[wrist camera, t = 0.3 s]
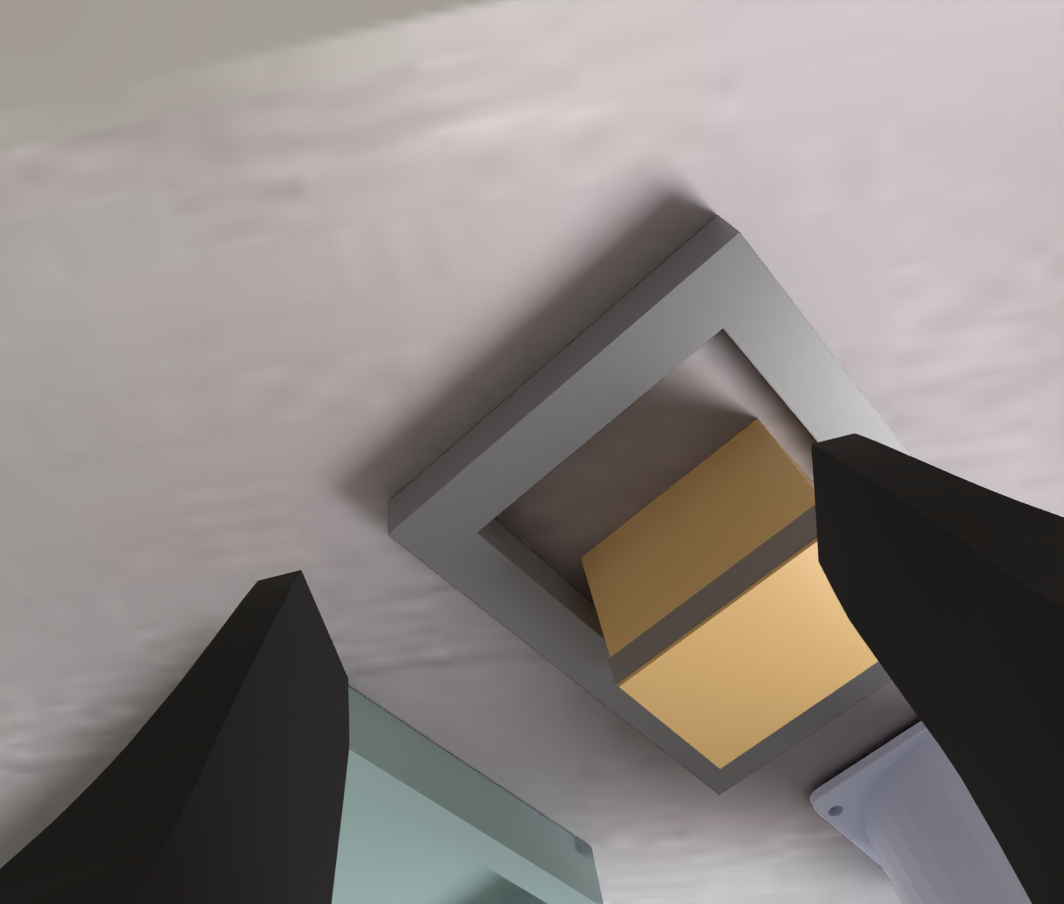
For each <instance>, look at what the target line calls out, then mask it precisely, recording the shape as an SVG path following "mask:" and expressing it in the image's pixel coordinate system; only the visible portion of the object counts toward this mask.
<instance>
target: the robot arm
mask: <svg viewBox="0 0 1064 904" xmlns="http://www.w3.org/2000/svg"><path fill="white" fill-rule="evenodd" d="M812 460H813V477H814V494H815V511H816V528H817V545H818V562H819V564H820V566H821V568H822V570H823V571H824V573H825V575H826V577H827V579H828V581H829V583H830V585H831V587H832V589H833V591H834V593H835V595H836V597H837V599H838V600H839V602H840V604H841V606H842V608H843V609H844V611H845V613H846V615H847V617H848V619H849V620H850V622H851V623H852V625H853V626H854V628H855V629H856V631H857V632H858V633H859V635H860V636H861V638H862V639H863V640H864V642H865V643H866V645H867V646H868V647H869V649H870V650H871V652H872V653H873V654H874V656H875V657H876V659H877V660H878V662H879V663H880V664H881V666H882V667H883V668H884V670H885V671H886V673H887V674H888V675H889V677H890V678H891V680H892V681H893V682H894V684H895V685H896V686H897V688H898V689H899V691H900V692H901V693H902V695H903V696H904V697H905V699H906V700H907V702H908V703H909V704H910V706H911V707H912V708H913V710H914V711H915V713H916V714H917V715H918V717H919V718H920V720H921V721H920V722H918V723H917V724H915V725H914V726H912V727H911V728H909V729H908V730H906V731H905V732H903V733H902V734H900V735H898V736H897V737H895V738H894V739H892V740H891V741H889V742H888V743H886V744H885V745H883V746H882V747H880V748H878V749H877V750H875V751H874V752H872V753H871V754H869V755H868V756H866V757H865V758H863V759H862V760H860V761H859V762H857V763H855V764H854V765H852V766H851V767H849V768H848V769H846V770H845V771H843V772H842V773H840V774H839V775H837V776H835V777H834V778H832V779H831V780H829V781H828V782H826V783H825V784H823V785H822V786H820V787H819V788H817V789H816V790H815V791H813V792H812V794H811V796H810V802H811V804H812V806H813V808H814V810H815V811H816V812H817V813H818V814H819V815H820V816H822V817H823V818H824V819H825V820H826V821H828V822H829V823H830V824H831V825H832V826H833V827H835V828H836V829H837V830H838V831H839V832H841V833H842V834H843V835H844V836H845V837H847V838H848V839H849V840H850V841H851V842H852V843H854V844H855V845H856V846H857V847H858V848H860V849H861V850H862V851H863V852H864V853H866V854H867V855H868V856H869V857H870V858H871V859H873V860H874V861H875V862H876V863H877V864H879V865H880V866H881V867H882V868H883V869H884V871H885V873H886V874H887V876H888V878H889V880H890V882H891V884H892V886H893V888H894V889H895V891H896V893H897V895H898V897H899V899H900V901H901V903H902V904H1064V517H1061V516H1058V515H1055V514H1053V513H1050V512H1047V511H1044V510H1041V509H1039V508H1036V507H1033V506H1030V505H1028V504H1025V503H1022V502H1019V501H1017V500H1014V499H1012V498H1009V497H1006V496H1004V495H1001V494H999V493H996V492H994V491H991V490H989V489H986V488H984V487H981V486H979V485H976V484H974V483H972V482H969V481H967V480H965V479H962V478H960V477H957V476H955V475H953V474H950V473H948V472H946V471H943V470H941V469H939V468H936V467H934V466H932V465H930V464H927V463H925V462H923V461H921V460H918V459H916V458H914V457H911V456H909V455H907V454H905V453H902V452H900V451H898V450H895V449H893V448H891V447H889V446H886V445H884V444H882V443H879V442H877V441H874V440H872V439H869V438H867V437H864V436H861V435H859V434H856V433H853V434H849V435H845V436H841V437H837V438H833V439H829V440H825V441H821V442H817V443H813V444H812ZM349 745H350V744H349V693H348V677H347V675H346V673H345V670H344V668H343V666H342V663H341V661H340V659H339V656H338V654H337V652H336V649H335V647H334V645H333V642H332V640H331V638H330V635H329V633H328V631H327V629H326V626H325V624H324V622H323V619H322V617H321V615H320V612H319V610H318V608H317V605H316V603H315V601H314V598H313V596H312V594H311V592H310V589H309V587H308V585H307V582H306V580H305V578H304V575H303V573H302V571H301V570H300V571H296V572H292V573H287V574H283V575H279V576H275V577H271V578H267V579H263V580H259V581H258V582H257V583H256V584H255V585H254V586H253V588H252V589H251V590H250V591H249V592H248V594H247V595H246V596H245V598H244V599H243V600H242V601H241V603H240V604H239V605H238V607H237V608H236V609H235V611H234V612H233V613H232V615H231V616H230V617H229V619H228V620H227V621H226V623H225V624H224V625H223V627H222V628H221V629H220V631H219V632H218V633H217V635H216V636H215V637H214V639H213V640H212V641H211V643H210V644H209V645H208V647H207V648H206V649H205V651H204V652H203V653H202V654H201V656H200V657H199V658H198V660H197V661H196V662H195V664H194V665H193V666H192V668H191V669H190V670H189V671H188V673H187V674H186V675H185V677H184V678H183V679H182V681H181V682H180V683H179V684H178V686H177V687H176V688H175V689H174V691H173V692H172V693H171V694H170V695H169V696H168V698H167V699H166V700H165V701H164V702H163V704H162V705H161V706H160V707H159V708H158V710H157V711H156V712H155V713H154V714H153V715H152V717H151V718H150V719H149V720H148V721H147V723H146V724H145V725H144V726H143V727H142V729H141V730H140V731H139V732H138V733H137V734H136V736H135V737H134V738H133V739H132V740H131V742H130V743H129V744H128V745H127V746H126V747H125V748H124V750H123V751H122V752H121V753H120V754H119V755H118V756H117V757H116V758H115V760H114V761H113V762H112V763H111V764H110V765H109V766H108V767H107V768H106V769H105V770H104V771H103V772H102V773H101V774H100V776H99V777H98V778H97V779H96V780H95V781H94V782H93V783H92V784H91V785H90V786H89V787H88V788H87V789H86V790H85V791H84V792H83V793H82V794H81V795H80V796H79V797H78V798H77V799H76V800H75V801H74V802H73V803H72V804H71V805H70V806H69V807H68V808H67V809H66V810H65V811H64V812H63V813H62V814H61V815H60V816H59V817H58V818H56V819H55V820H54V821H53V822H52V823H51V824H50V825H49V826H48V827H47V828H46V829H45V830H43V831H42V832H41V833H40V834H39V835H38V836H37V837H36V838H35V839H33V840H32V841H31V842H30V843H29V844H28V845H27V846H26V847H24V848H23V849H22V850H21V851H20V852H19V853H18V854H17V855H15V856H14V857H13V858H12V859H11V860H10V861H9V862H8V863H6V864H5V865H4V866H3V867H2V868H1V869H0V904H332V895H333V887H334V878H335V870H336V861H337V852H338V844H339V835H340V827H341V818H342V810H343V801H344V792H345V783H346V774H347V765H348V755H349Z"/></svg>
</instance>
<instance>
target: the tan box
mask: <svg viewBox="0 0 1064 904" xmlns="http://www.w3.org/2000/svg"><path fill="white" fill-rule="evenodd" d="M581 561H582V564H583V567H584V571H585V574H586V577H587V581H588V584H589V587H590V591H591V594H592V598H593V601H594V604H595V608H596V611H597V614H598V618H599V621H600V625H601V628H602V631H603V635H604V638H605V641H606V645H607V648H608V652H609V655H610V658H609V659H608V662H609V665H610V669H611V672H612V675H613V679H614V682H615V684H616V685H617V686H618V687H619V688H621V689H622V690H623V691H624V692H626V693H627V694H628V695H629V696H631V697H632V698H633V699H634V700H636V701H637V702H638V703H639V704H640V705H642V706H643V707H644V708H645V709H647V710H648V711H649V712H650V713H652V714H653V715H654V716H655V717H656V718H658V719H659V720H660V721H661V722H663V723H664V724H665V725H666V726H668V727H669V728H670V729H671V730H673V731H674V732H675V733H676V734H677V735H679V736H680V737H681V738H682V739H684V740H685V741H686V742H687V743H689V744H690V745H691V746H692V747H693V748H695V749H696V750H697V751H698V752H700V753H701V754H702V755H703V756H705V757H706V758H707V759H708V760H709V761H711V762H712V763H713V764H714V765H716V766H717V767H718V768H720V769H721V768H722V767H724V766H725V765H727V764H728V763H730V762H731V761H733V760H734V759H736V758H737V757H738V756H740V755H741V754H743V753H744V752H746V751H747V750H749V749H750V748H752V747H753V746H755V745H756V744H758V743H759V742H761V741H762V740H763V739H765V738H766V737H768V736H769V735H771V734H772V733H774V732H775V731H777V730H778V729H780V728H781V727H783V726H784V725H786V724H787V723H788V722H790V721H791V720H793V719H794V718H796V717H797V716H799V715H800V714H802V713H803V712H805V711H806V710H808V709H809V708H810V707H812V706H813V705H815V704H816V703H818V702H819V701H821V700H822V699H824V698H825V697H827V696H828V695H830V694H831V693H833V692H834V691H835V690H837V689H838V688H840V687H841V686H843V685H844V684H846V683H847V682H849V681H850V680H852V679H853V678H855V677H856V676H858V675H859V674H860V673H862V672H863V671H865V670H866V669H868V668H869V667H871V666H872V665H874V664H875V663H877V662H878V660H877V659H876V657H875V656H874V654H873V653H872V652H871V650H870V649H869V647H868V646H867V645H866V643H865V642H864V640H863V639H862V638H861V636H860V635H859V633H858V632H857V631H856V629H855V628H854V626H853V625H852V623H851V622H850V620H849V619H848V617H847V615H846V613H845V611H844V609H843V608H842V606H841V604H840V602H839V600H838V599H837V597H836V595H835V593H834V591H833V589H832V587H831V585H830V583H829V581H828V579H827V577H826V575H825V573H824V571H823V570H822V568H821V566H820V564H819V562H818V545H817V528H816V511H815V494H814V483H813V482H812V481H811V479H810V478H809V477H808V476H807V475H806V474H805V472H804V471H803V470H802V469H801V468H800V467H799V465H798V464H797V463H796V462H795V461H794V460H793V459H792V457H791V456H790V455H789V454H788V453H787V452H786V450H785V449H784V448H783V447H782V446H781V445H780V443H779V442H778V441H777V440H776V439H775V438H774V437H773V435H772V434H771V433H770V432H769V431H768V430H767V428H766V427H765V426H764V425H763V424H762V423H761V421H760V420H759V419H758V418H757V419H756V420H755V421H753V422H752V423H751V424H750V425H748V426H747V427H746V428H745V429H743V430H742V431H741V432H740V433H738V434H737V435H736V436H735V437H733V438H732V439H731V440H729V441H728V442H727V443H726V444H724V445H723V446H722V447H721V448H719V449H718V450H717V451H716V452H714V453H713V454H712V455H710V456H709V457H708V458H707V459H705V460H704V461H703V462H702V463H700V464H699V465H698V466H697V467H695V468H694V469H693V470H692V471H690V472H689V473H688V474H686V475H685V476H684V477H683V478H681V479H680V480H679V481H678V482H676V483H675V484H674V485H673V486H671V487H670V488H669V489H667V490H666V491H665V492H664V493H662V494H661V495H660V496H659V497H657V498H656V499H655V500H654V501H652V502H651V503H650V504H648V505H647V506H646V507H645V508H643V509H642V510H641V511H640V512H638V513H637V514H636V515H635V516H633V517H632V518H631V519H630V520H628V521H627V522H626V523H624V524H623V525H622V526H621V527H619V528H618V529H617V530H616V531H614V532H613V533H612V534H611V535H609V536H608V537H607V538H605V539H604V540H603V541H602V542H600V543H599V544H598V545H597V546H595V547H594V548H593V549H592V550H590V551H589V552H588V553H586V554H585V555H584V556H583V557H581Z"/></svg>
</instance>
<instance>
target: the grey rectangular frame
mask: <svg viewBox="0 0 1064 904" xmlns="http://www.w3.org/2000/svg"><path fill="white" fill-rule="evenodd" d="M721 329H723V330H724V331H725V332H726V333H727V335H728V336H729V337H730V338H731V339H732V341H733V342H734V343H735V344H736V345H737V347H738V348H739V349H740V350H741V351H742V353H743V354H744V355H745V356H746V357H747V359H748V360H749V361H750V362H751V363H752V365H753V366H754V367H755V368H756V369H757V371H758V372H759V373H760V374H761V375H762V377H763V378H764V379H765V380H766V381H767V383H768V384H769V385H770V386H771V387H772V389H773V390H774V391H775V392H776V393H777V395H778V396H779V397H780V398H781V399H782V401H783V402H784V403H785V404H786V406H787V407H788V408H789V409H790V410H791V412H792V413H793V414H794V415H795V416H796V418H797V419H798V420H799V421H800V422H801V424H802V425H803V426H804V427H805V428H806V430H807V431H808V432H809V433H810V434H811V436H812V437H813V438H814V439H815V440H816V442H821V441H825V440H829V439H833V438H837V437H841V436H845V435H849V434H853V433H856V434H859V435H861V436H864V437H867V438H869V439H872V440H874V441H877V442H879V443H882V444H884V445H886V446H889V447H891V448H893V449H895V450H898V451H900V452H902V453H905V454H907V455H909V456H911V455H910V454H909V453H908V451H907V450H906V449H905V447H904V446H903V445H902V444H901V442H900V441H899V440H898V438H897V437H896V436H895V434H894V433H893V432H892V430H891V429H890V428H889V427H888V425H887V424H886V423H885V421H884V420H883V419H882V417H881V416H880V415H879V413H878V412H877V411H876V410H875V408H874V407H873V406H872V404H871V403H870V402H869V400H868V399H867V398H866V396H865V395H864V394H863V393H862V391H861V390H860V389H859V387H858V386H857V385H856V383H855V382H854V381H853V379H852V378H851V377H850V376H849V374H848V373H847V372H846V370H845V369H844V368H843V366H842V365H841V364H840V362H839V361H838V360H837V359H836V357H835V356H834V355H833V353H832V352H831V351H830V349H829V348H828V347H827V346H826V344H825V343H824V342H823V340H822V339H821V338H820V336H819V335H818V334H817V332H816V331H815V330H814V329H813V327H812V326H811V325H810V323H809V322H808V321H807V319H806V318H805V317H804V315H803V314H802V313H801V312H800V310H799V309H798V308H797V306H796V305H795V304H794V302H793V301H792V300H791V298H790V297H789V296H788V295H787V293H786V292H785V291H784V289H783V288H782V287H781V285H780V284H779V283H778V281H777V280H776V279H775V278H774V276H773V275H772V274H771V272H770V271H769V270H768V268H767V267H766V266H765V264H764V263H763V262H762V261H761V259H760V258H759V257H758V255H757V254H756V253H755V251H754V250H753V249H752V247H751V246H750V245H749V244H748V242H747V241H746V240H745V238H744V237H743V236H742V234H741V233H740V232H739V231H738V230H736V229H735V228H734V227H732V226H731V225H730V224H729V223H727V222H726V221H725V220H724V219H722V218H721V217H720V216H718V215H717V216H716V217H715V218H714V219H712V220H711V221H710V222H709V223H708V224H707V225H705V226H704V227H703V228H702V229H701V230H700V231H699V232H697V233H696V234H695V235H694V236H693V237H692V238H691V239H689V240H688V241H687V242H686V243H685V244H684V245H683V246H681V247H680V248H679V249H678V250H677V251H676V252H674V253H673V254H672V255H671V256H670V257H669V258H668V259H666V260H665V261H664V262H663V263H662V264H661V265H660V266H658V267H657V268H656V269H655V270H654V271H653V272H652V273H650V274H649V275H648V276H647V277H646V278H645V279H644V280H642V281H641V282H640V283H639V284H638V285H637V286H635V287H634V288H633V289H632V290H631V291H630V292H629V293H627V294H626V295H625V296H624V297H623V298H622V299H621V300H619V301H618V302H617V303H616V304H615V305H614V306H613V307H611V308H610V309H609V310H608V311H607V312H606V313H604V314H603V315H602V316H601V317H600V318H599V319H598V320H596V321H595V322H594V323H593V324H592V325H591V326H590V327H588V328H587V329H586V330H585V331H584V332H583V333H582V334H580V335H579V336H578V337H577V338H576V339H575V340H574V341H572V342H571V343H570V344H569V345H568V346H567V347H565V348H564V349H563V350H562V351H561V352H560V353H559V354H557V355H556V356H555V357H554V358H553V359H552V360H551V361H549V362H548V363H547V364H546V365H545V366H544V367H543V368H541V369H540V370H539V371H538V372H537V373H536V374H535V375H533V376H532V377H531V378H530V379H529V380H528V381H526V382H525V383H524V384H523V385H522V386H521V387H520V388H518V389H517V390H516V391H515V392H514V393H513V394H512V395H510V396H509V397H508V398H507V399H506V400H505V401H504V402H502V403H501V404H500V405H499V406H498V407H497V408H495V409H494V410H493V411H492V412H491V413H490V414H489V415H487V416H486V417H485V418H484V419H483V420H482V421H481V422H479V423H478V424H477V425H476V426H475V427H474V428H473V429H471V430H470V431H469V432H468V433H467V434H466V435H465V436H463V437H462V438H461V439H460V440H459V441H458V442H456V443H455V444H454V445H453V446H452V447H451V448H450V449H448V450H447V451H446V452H445V453H444V454H443V455H442V456H440V457H439V458H438V459H437V460H436V461H435V462H434V463H432V464H431V465H430V466H429V467H428V468H427V469H426V470H424V471H423V472H422V473H421V474H420V475H419V476H417V477H416V478H415V479H414V480H413V481H412V482H411V483H409V484H408V485H407V486H406V487H405V488H404V489H403V490H401V491H400V492H399V493H398V494H397V495H396V496H395V497H393V498H392V499H391V500H390V501H389V515H388V535H389V536H390V537H392V538H393V539H394V540H395V541H397V542H398V543H399V544H400V545H402V546H403V547H404V548H406V549H407V550H408V551H409V552H411V553H412V554H413V555H414V556H416V557H417V558H418V559H420V560H421V561H422V562H423V563H425V564H426V565H427V566H428V567H430V568H431V569H432V570H434V571H435V572H436V573H437V574H439V575H440V576H441V577H442V578H444V579H445V580H446V581H448V582H449V583H450V584H451V585H453V586H454V587H455V588H456V589H458V590H459V591H460V592H462V593H463V594H464V595H465V596H467V597H468V598H469V599H470V600H472V601H473V602H474V603H476V604H477V605H478V606H479V607H481V608H482V609H483V610H484V611H486V612H487V613H488V614H490V615H491V616H492V617H493V618H495V619H496V620H497V621H498V622H500V623H501V624H502V625H504V626H505V627H506V628H507V629H509V630H510V631H511V632H512V633H514V634H515V635H516V636H518V637H519V638H520V639H521V640H523V641H524V642H525V643H526V644H528V645H529V646H530V647H532V648H533V649H534V650H535V651H537V652H538V653H539V654H540V655H542V656H543V657H544V658H546V659H547V660H548V661H549V662H551V663H552V664H553V665H554V666H556V667H557V668H558V669H560V670H561V671H562V672H563V673H565V674H566V675H567V676H569V677H570V678H571V679H572V680H574V681H575V682H576V683H577V684H579V685H580V686H581V687H583V688H584V689H585V690H586V691H588V692H589V693H590V694H591V695H593V696H594V697H595V698H597V699H598V700H599V701H600V702H602V703H603V704H604V705H605V706H607V707H608V708H609V709H611V710H612V711H613V712H614V713H616V714H617V715H618V716H619V717H621V718H622V719H623V720H625V721H626V722H627V723H628V724H630V725H631V726H632V727H633V728H635V729H636V730H637V731H639V732H640V733H641V734H642V735H644V736H645V737H646V738H647V739H649V740H650V741H651V742H653V743H654V744H655V745H656V746H658V747H659V748H660V749H661V750H663V751H664V752H665V753H667V754H668V755H669V756H670V757H672V758H673V759H674V760H675V761H677V762H678V763H679V764H681V765H682V766H683V767H684V768H686V769H687V770H688V771H689V772H691V773H692V774H693V775H695V776H696V777H697V778H698V779H700V780H701V781H702V782H703V783H705V784H706V785H707V786H709V787H710V788H711V789H712V790H714V791H715V792H716V793H717V794H719V795H720V794H722V793H723V792H725V791H726V790H728V789H729V788H731V787H732V786H734V785H735V784H736V783H738V782H739V781H741V780H742V779H744V778H745V777H747V776H748V775H750V774H751V773H753V772H754V771H756V770H757V769H759V768H760V767H762V766H763V765H765V764H766V763H768V762H769V761H771V760H772V759H774V758H775V757H777V756H778V755H780V754H781V753H783V752H784V751H786V750H787V749H789V748H790V747H792V746H793V745H795V744H796V743H798V742H799V741H801V740H802V739H804V738H805V737H807V736H808V735H810V734H811V733H813V732H814V731H816V730H817V729H818V728H820V727H821V726H823V725H824V724H826V723H827V722H829V721H830V720H832V719H833V718H835V717H836V716H838V715H839V714H841V713H842V712H844V711H845V710H847V709H848V708H850V707H851V706H853V705H854V704H856V703H857V702H859V701H860V700H862V699H863V698H865V697H866V696H868V695H869V694H871V693H872V692H874V691H875V690H877V689H878V688H880V687H881V686H883V685H884V684H886V683H887V682H889V681H890V680H891V678H890V677H889V675H888V674H887V673H886V671H885V670H884V668H883V667H882V666H881V664H880V663H879V662H877V663H875V664H874V665H872V666H871V667H869V668H868V669H866V670H865V671H863V672H862V673H860V674H859V675H858V676H856V677H855V678H853V679H852V680H850V681H849V682H847V683H846V684H844V685H843V686H841V687H840V688H838V689H837V690H835V691H834V692H833V693H831V694H830V695H828V696H827V697H825V698H824V699H822V700H821V701H819V702H818V703H816V704H815V705H813V706H812V707H810V708H809V709H808V710H806V711H805V712H803V713H802V714H800V715H799V716H797V717H796V718H794V719H793V720H791V721H790V722H788V723H787V724H786V725H784V726H783V727H781V728H780V729H778V730H777V731H775V732H774V733H772V734H771V735H769V736H768V737H766V738H765V739H763V740H762V741H761V742H759V743H758V744H756V745H755V746H753V747H752V748H750V749H749V750H747V751H746V752H744V753H743V754H741V755H740V756H738V757H737V758H736V759H734V760H733V761H731V762H730V763H728V764H727V765H725V766H724V767H722V768H721V769H720V768H718V767H717V766H716V765H714V764H713V763H712V762H711V761H709V760H708V759H707V758H706V757H705V756H703V755H702V754H701V753H700V752H698V751H697V750H696V749H695V748H693V747H692V746H691V745H690V744H689V743H687V742H686V741H685V740H684V739H682V738H681V737H680V736H679V735H677V734H676V733H675V732H674V731H673V730H671V729H670V728H669V727H668V726H666V725H665V724H664V723H663V722H661V721H660V720H659V719H658V718H656V717H655V716H654V715H653V714H652V713H650V712H649V711H648V710H647V709H645V708H644V707H643V706H642V705H640V704H639V703H638V702H637V701H636V700H634V699H633V698H632V697H631V696H629V695H628V694H627V693H626V692H624V691H623V690H622V689H621V688H619V687H618V686H617V685H616V684H615V682H614V679H613V675H612V672H611V669H610V665H609V662H608V659H609V658H610V655H609V652H608V648H607V645H606V641H605V638H604V635H603V631H602V628H601V625H600V621H599V618H598V614H597V611H596V608H595V605H594V604H593V603H592V602H591V601H590V600H588V599H587V598H586V597H585V596H584V595H583V594H581V593H580V592H579V591H578V590H577V589H576V588H574V587H573V586H572V585H571V584H570V583H569V582H567V581H566V580H565V579H564V578H563V577H562V576H560V575H559V574H558V573H557V572H556V571H555V570H554V569H552V568H551V567H550V566H549V565H548V564H547V563H545V562H544V561H543V560H542V559H541V558H540V557H538V556H537V555H536V554H535V553H534V552H533V551H531V550H530V549H529V548H528V547H527V546H526V545H524V544H523V543H522V542H521V541H520V540H519V539H517V538H516V537H515V536H514V535H513V534H512V533H510V532H509V531H508V530H507V529H506V528H505V527H503V526H502V525H501V524H500V523H499V522H498V521H496V520H495V519H494V518H495V517H496V516H498V515H499V514H500V513H501V512H502V511H504V510H505V509H506V508H507V507H508V506H510V505H511V504H512V503H513V502H514V501H516V500H517V499H518V498H519V497H520V496H522V495H523V494H524V493H525V492H526V491H528V490H529V489H530V488H531V487H532V486H534V485H535V484H536V483H537V482H538V481H540V480H541V479H542V478H543V477H544V476H546V475H547V474H548V473H549V472H550V471H552V470H553V469H554V468H555V467H557V466H558V465H559V464H560V463H561V462H563V461H564V460H565V459H566V458H567V457H569V456H570V455H571V454H572V453H573V452H575V451H576V450H577V449H578V448H579V447H581V446H582V445H583V444H584V443H585V442H587V441H588V440H589V439H590V438H591V437H593V436H594V435H595V434H596V433H597V432H599V431H600V430H601V429H602V428H603V427H605V426H606V425H607V424H608V423H609V422H611V421H612V420H613V419H614V418H615V417H617V416H618V415H619V414H620V413H622V412H623V411H624V410H625V409H626V408H628V407H629V406H630V405H631V404H632V403H634V402H635V401H636V400H637V399H638V398H640V397H641V396H642V395H643V394H644V393H646V392H647V391H648V390H649V389H650V388H652V387H653V386H654V385H655V384H656V383H658V382H659V381H660V380H661V379H662V378H664V377H665V376H666V375H667V374H668V373H670V372H671V371H672V370H673V369H674V368H676V367H677V366H678V365H679V364H680V363H682V362H683V361H684V360H685V359H686V358H688V357H689V356H690V355H691V354H693V353H694V352H695V351H696V350H697V349H699V348H700V347H701V346H702V345H703V344H705V343H706V342H707V341H708V340H709V339H711V338H712V337H713V336H714V335H715V334H717V333H718V332H719V331H720V330H721Z"/></svg>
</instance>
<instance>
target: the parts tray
mask: <svg viewBox="0 0 1064 904" xmlns="http://www.w3.org/2000/svg"><path fill="white" fill-rule="evenodd" d="M348 693H349V744H350V745H349V755H348V765H347V774H346V783H345V792H344V801H343V810H342V818H341V827H340V835H339V844H338V852H337V861H336V870H335V878H334V887H333V895H332V904H603V900H602V895H601V890H600V886H599V881H598V876H597V871H596V867H595V862H594V857H593V853H592V848H591V847H590V846H589V845H587V844H586V843H584V842H583V841H581V840H579V839H578V838H576V837H575V836H573V835H572V834H570V833H569V832H567V831H566V830H564V829H563V828H561V827H560V826H558V825H557V824H555V823H554V822H552V821H551V820H549V819H548V818H546V817H545V816H543V815H542V814H540V813H539V812H537V811H536V810H534V809H533V808H531V807H530V806H528V805H527V804H525V803H524V802H522V801H521V800H519V799H518V798H516V797H515V796H513V795H512V794H510V793H509V792H507V791H506V790H504V789H503V788H501V787H500V786H498V785H497V784H495V783H494V782H492V781H491V780H489V779H488V778H486V777H485V776H483V775H482V774H480V773H479V772H477V771H476V770H474V769H473V768H471V767H470V766H468V765H466V764H465V763H463V762H462V761H460V760H459V759H457V758H456V757H454V756H453V755H451V754H450V753H448V752H447V751H445V750H444V749H442V748H441V747H439V746H438V745H436V744H435V743H433V742H432V741H430V740H429V739H427V738H426V737H424V736H423V735H421V734H420V733H418V732H417V731H415V730H414V729H412V728H411V727H409V726H408V725H406V724H405V723H403V722H402V721H400V720H399V719H397V718H396V717H394V716H393V715H391V714H390V713H388V712H387V711H385V710H384V709H382V708H381V707H379V706H378V705H376V704H375V703H373V702H372V701H370V700H369V699H367V698H366V697H364V696H363V695H361V694H360V693H358V692H357V691H355V690H353V689H352V688H350V687H349V686H348Z"/></svg>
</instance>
